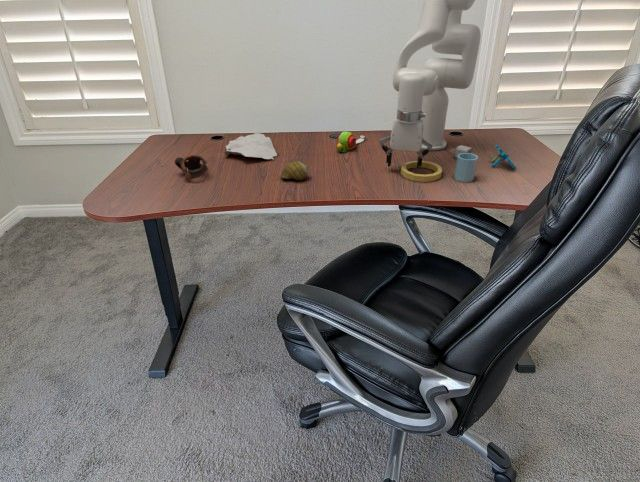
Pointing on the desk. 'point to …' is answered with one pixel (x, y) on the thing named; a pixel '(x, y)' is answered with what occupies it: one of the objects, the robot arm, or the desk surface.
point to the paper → (252, 146)
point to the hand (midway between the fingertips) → (403, 166)
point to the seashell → (295, 171)
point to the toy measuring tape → (348, 141)
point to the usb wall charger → (461, 150)
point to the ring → (419, 176)
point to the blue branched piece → (502, 157)
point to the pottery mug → (192, 166)
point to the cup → (466, 167)
